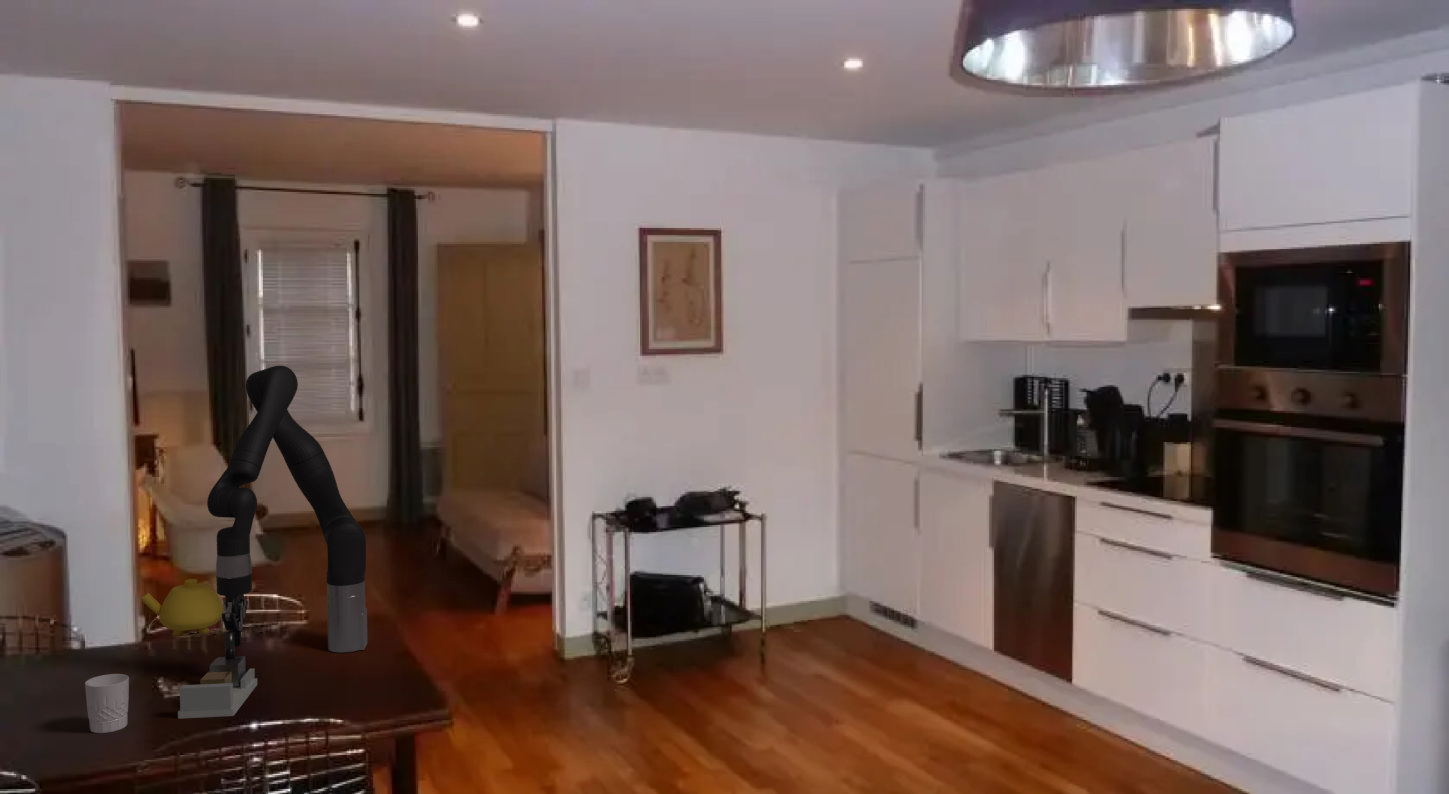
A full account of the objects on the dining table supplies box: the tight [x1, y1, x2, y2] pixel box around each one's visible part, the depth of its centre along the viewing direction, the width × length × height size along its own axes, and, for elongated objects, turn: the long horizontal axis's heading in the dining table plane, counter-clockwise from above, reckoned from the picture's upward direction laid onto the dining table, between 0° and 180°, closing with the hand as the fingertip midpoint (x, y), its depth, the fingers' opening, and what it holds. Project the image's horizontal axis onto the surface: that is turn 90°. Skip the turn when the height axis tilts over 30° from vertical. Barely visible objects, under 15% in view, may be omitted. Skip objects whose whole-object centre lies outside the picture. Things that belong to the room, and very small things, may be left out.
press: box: [177, 668, 258, 720], centre depth 242 cm, size 21×11×6 cm, turn 9°
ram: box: [209, 631, 247, 686], centre depth 248 cm, size 6×6×11 cm
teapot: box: [140, 578, 225, 637], centre depth 294 cm, size 20×16×14 cm
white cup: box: [84, 673, 130, 734], centre depth 226 cm, size 8×8×10 cm
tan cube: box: [199, 671, 232, 685], centre depth 239 cm, size 5×5×5 cm
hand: (235, 645), depth 255 cm, fingers closed
